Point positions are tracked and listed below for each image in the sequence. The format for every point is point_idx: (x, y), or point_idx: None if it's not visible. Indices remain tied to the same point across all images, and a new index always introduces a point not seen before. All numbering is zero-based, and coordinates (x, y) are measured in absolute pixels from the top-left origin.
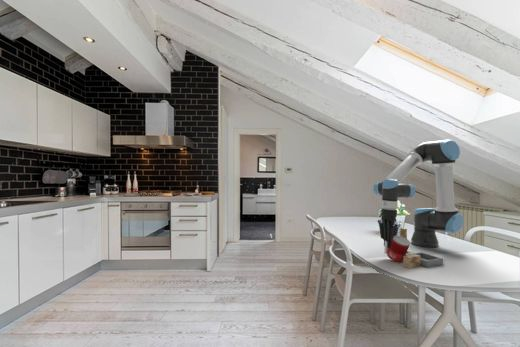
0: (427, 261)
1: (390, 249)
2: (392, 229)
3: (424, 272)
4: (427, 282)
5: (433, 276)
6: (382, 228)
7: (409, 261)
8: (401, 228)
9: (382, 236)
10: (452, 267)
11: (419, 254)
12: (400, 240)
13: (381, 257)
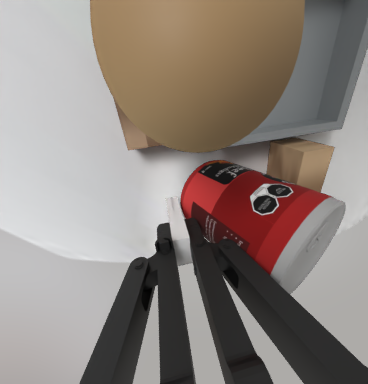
0: (341, 124)
1: None
2: (251, 346)
3: (329, 176)
4: (358, 221)
5: (359, 177)
6: (126, 377)
7: None
8: (142, 86)
9: (152, 293)
10: None
11: None
12: (303, 257)
13: (154, 209)
